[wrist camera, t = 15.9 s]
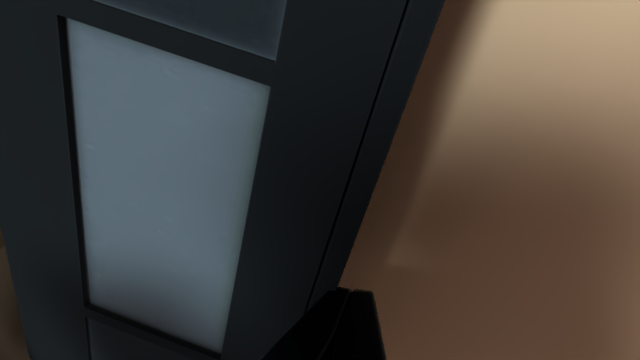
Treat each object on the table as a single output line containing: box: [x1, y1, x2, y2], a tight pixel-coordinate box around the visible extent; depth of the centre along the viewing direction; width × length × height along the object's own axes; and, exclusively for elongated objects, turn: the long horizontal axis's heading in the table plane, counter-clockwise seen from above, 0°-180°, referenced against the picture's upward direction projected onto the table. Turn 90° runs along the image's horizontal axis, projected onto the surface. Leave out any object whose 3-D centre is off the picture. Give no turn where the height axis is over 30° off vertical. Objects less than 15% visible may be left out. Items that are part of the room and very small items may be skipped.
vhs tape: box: [0, 0, 445, 360], centre depth 10 cm, size 8×14×2 cm, turn 167°
